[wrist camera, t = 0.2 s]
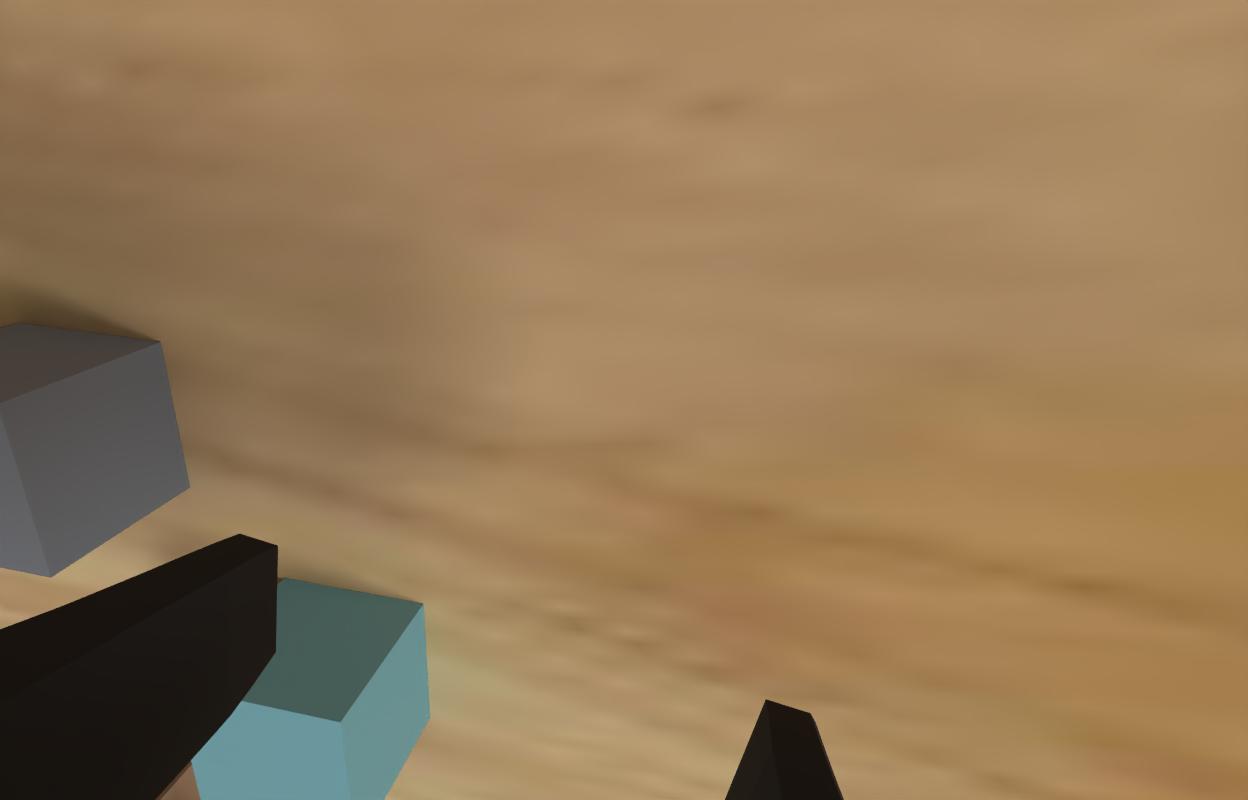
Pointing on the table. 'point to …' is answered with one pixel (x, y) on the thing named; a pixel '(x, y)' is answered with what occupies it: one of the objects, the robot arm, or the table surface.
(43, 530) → the charcoal block
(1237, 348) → the table surface
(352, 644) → the teal block
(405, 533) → the table surface
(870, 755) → the table surface
